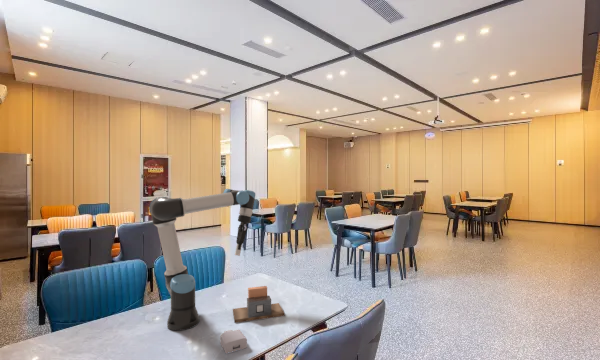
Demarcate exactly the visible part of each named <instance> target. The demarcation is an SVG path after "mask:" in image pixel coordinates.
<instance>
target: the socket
mask: <svg viewBox="0 0 600 360" xmlns="http://www.w3.org/2000/svg"><path fill="white" fill-rule="evenodd" d="M271 304H272V299H271V297H270V295H267V296H261V297H252V298H248V297H246V307H247V314H248V318H252V317H259V316H267V315H271ZM256 305H263V311H260V312H257V311H256Z"/></svg>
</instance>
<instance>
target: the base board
mask: <svg viewBox="0 0 600 360" xmlns="http://www.w3.org/2000/svg"><path fill="white" fill-rule="evenodd" d="M232 314H233V321H234V323H237V324H238V323H244V322H250V321H257V320H264V319H271V318H279V317H284V316H285V312H284V310H283V308H282V306H281V304H280V302H277V303H271V315H267V316H259V317H252V318H248V314H247V306H246V307H237V308H236V307H235V308H232Z"/></svg>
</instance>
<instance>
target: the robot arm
mask: <svg viewBox="0 0 600 360" xmlns="http://www.w3.org/2000/svg"><path fill="white" fill-rule="evenodd" d="M255 201H256V192H255V191H253V190H249V189H245V190H235V189H232V188H225V189H224V190H223V192H222V193H218V194H217V193H215V194H209V195H204V196H202V195H201V196H197V197H191V198H183V197H177V198H168V197H167V196H158V197H156V198H153V200H152V201H151V202H150V203H149V205H148V206H149V207H148V211H149V213H150V215H151V220H152V224H153V225H154V226H155V227H156V228H157V233H158V237H159V242H160V246H161V250H162V255H163V260H164V265H165V269H166V270H165V271H164V279H165V287H166V289H167V291H168V294H169V295H170V312H169V316H168V318H167V322H166V324H167V325H166V327H167V329H169V330H171V331H186V330H189V329H192V328H193V327H196V326H197V325H198V324H199V322H200V316H199V313H198V310H197V307H196V279H195V277H194V276H193V275H192V274H189V273H188V269H187V265H184V263H183V258H182V253H181V249H180V243H179V239H178V234H177V230H176V225H175V223H176V221H177V218H183V217H185V215H187V214H192V213H199V212H202V211H203V212H204V211H210V210H215V209H221V208H225V207H226V208H227V207H230V206H231V207H232V206H238V205H240V208H239V212H238V214H239V215H238V217H237V221H238V222H240V224H239V225H238V227H237V233H236V234H237V236H236V241H235V242H236V247H235V252H234V255H235V256H239V257H240V256H241V251H242V247H243V244H244V242H245V238H246V234H247V231H248V224H250V223H251V220H252V214H253V213H254V212H253V211H254V205H255Z"/></svg>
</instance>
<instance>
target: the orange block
mask: <svg viewBox="0 0 600 360" xmlns="http://www.w3.org/2000/svg"><path fill="white" fill-rule="evenodd" d="M261 296H268V287H267V285H264V286H263V285H261V286H254V287H253V286H252V287H248V288H247V298H252V297H261ZM256 311H257V312H260V311H263V305H256Z"/></svg>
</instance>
